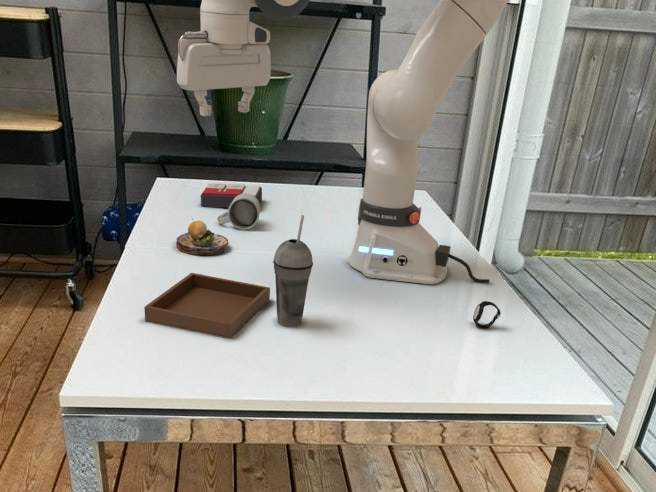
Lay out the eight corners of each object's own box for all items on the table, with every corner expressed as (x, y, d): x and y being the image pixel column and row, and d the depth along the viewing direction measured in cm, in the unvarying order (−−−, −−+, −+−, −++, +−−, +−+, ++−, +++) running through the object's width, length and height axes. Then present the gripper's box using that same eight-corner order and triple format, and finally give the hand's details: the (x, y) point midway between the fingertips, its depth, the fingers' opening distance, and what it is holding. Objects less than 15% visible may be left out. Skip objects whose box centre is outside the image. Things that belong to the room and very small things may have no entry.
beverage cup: (269, 314, 147) (274, 207, 136) (306, 315, 148) (314, 210, 136) (271, 329, 141) (276, 220, 130) (310, 331, 142) (318, 222, 131)
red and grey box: (207, 181, 209) (262, 184, 209) (208, 198, 212) (262, 200, 211) (199, 192, 200) (256, 194, 200) (201, 208, 203) (257, 211, 202)
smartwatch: (473, 321, 152) (478, 297, 149) (499, 327, 150) (504, 303, 147) (468, 328, 149) (473, 303, 146) (493, 334, 147) (499, 309, 144)
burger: (233, 255, 173) (234, 221, 169) (182, 257, 169) (181, 223, 165) (221, 238, 182) (221, 206, 178) (171, 239, 179) (170, 207, 174)
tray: (269, 300, 152) (270, 287, 151) (231, 338, 137) (231, 324, 135) (191, 285, 156) (191, 272, 154) (145, 321, 140) (144, 306, 138)
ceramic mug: (260, 221, 195) (261, 190, 191) (258, 231, 189) (259, 199, 184) (219, 219, 195) (218, 187, 191) (215, 228, 188) (215, 196, 184)
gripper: (189, 33, 132) (191, 120, 139) (277, 32, 144) (274, 112, 152) (167, 29, 135) (171, 114, 143) (254, 28, 147) (253, 107, 155)
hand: (225, 113), depth 147 cm, fingers open, 8 cm apart
